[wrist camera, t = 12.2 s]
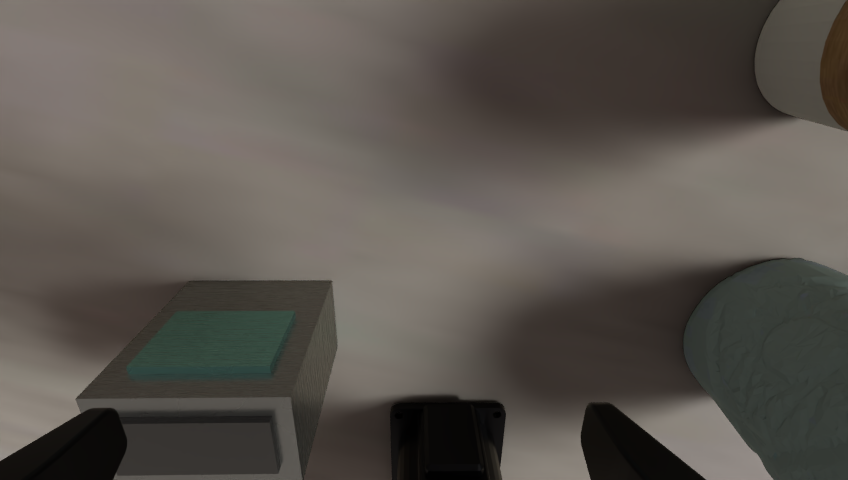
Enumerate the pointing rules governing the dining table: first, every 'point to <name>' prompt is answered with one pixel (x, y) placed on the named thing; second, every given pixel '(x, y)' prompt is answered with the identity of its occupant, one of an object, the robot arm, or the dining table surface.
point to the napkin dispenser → (223, 382)
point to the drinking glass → (779, 364)
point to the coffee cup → (806, 60)
